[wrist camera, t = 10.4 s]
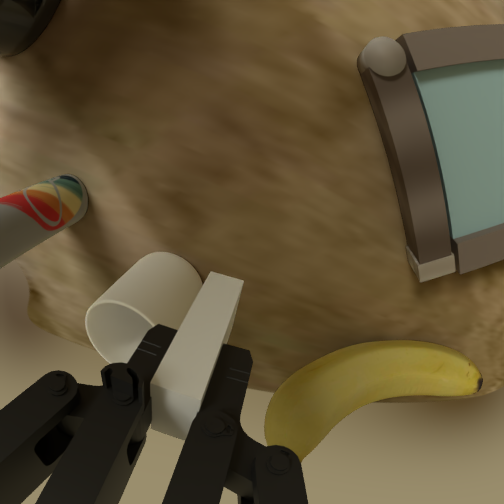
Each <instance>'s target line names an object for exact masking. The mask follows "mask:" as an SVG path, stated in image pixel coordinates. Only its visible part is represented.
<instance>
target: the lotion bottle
mask: <svg viewBox="0 0 504 504" xmlns="http://www.w3.org/2000/svg"><path fill="white" fill-rule="evenodd" d="M87 206H88V197H87V192H86V189H85V187H84V185H83V184H82V182H81V181H80V180H79V179H78V178H77V177H75V176H74V175H70V174H64V175H60V176H57V177H54V178H51V179H48V180H46V181H43V182H40V183H37V184H35V185H32V186H30V187H27V188H24V189H22V190H19V191H17V192H14V193H12V194H10V195H7V196H5V197H2V198H0V269H1V268H2V267H4V266H5V265H7V264H8V263H10V262H11V261H13V260H14V259H16V258H18V257H19V256H21V255H22V254H24V253H25V252H27V251H29V250H30V249H32V248H33V247H35V246H37V245H38V244H40V243H42V242H43V241H45V240H47V239H48V238H50V237H52V236H53V235H55V234H57V233H58V232H60V231H62V230H64V229H65V228H67V227H69V226H71V225H72V224H74V223H76V222H77V221H79V220H80V219H81V218H82V217H83V216H84V215H85V213H86V210H87Z"/></svg>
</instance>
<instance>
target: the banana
mask: <svg viewBox="0 0 504 504" xmlns="http://www.w3.org/2000/svg"><path fill="white" fill-rule="evenodd" d="M482 382H483V378H482V376H481V373H480V372H479V370H478V368H477V367H476V365H475V364H474V363H473V362H472V361H471V360H470V359H469V358H467V357H466V356H465V355H463V354H462V353H460V352H458V351H456V350H454V349H451V348H449V347H446V346H442V345H439V344H434V343H430V342H423V341H414V340H386V341H373V342H365V343H360V344H356V345H352V346H348V347H345V348H342V349H339V350H337V351H334V352H332V353H329V354H327V355H325V356H323V357H321V358H319V359H317V360H315V361H313V362H311V363H309V364H308V365H306V366H304V367H303V368H301V369H299V370H298V371H296V372H295V373H294V374H292V375H291V376H290V377H289V378H288V379H287V380H286V381H285V382H284V383H283V384H282V385H281V386H280V387H279V388H278V389H277V391H276V392H275V393H274V395H273V397H272V398H271V401H270V403H269V406H268V409H267V412H266V416H265V425H264V431H265V439H266V441H267V445H268V446H272V445H280V446H285V447H287V448H289V449H291V450H292V451H293V452H294V453H295V454H296V455H297V456H298V458H299V460H300V462H302V460H303V459H304V458H305V457H306V456H307V455H308V454H309V453H310V452H311V451H312V450H313V449H314V448H315V447H316V446H317V445H318V444H319V443H320V442H321V440H323V439H324V437H325V436H326V435H327V434H328V433H329V432H330V431H331V429H332V428H333V427H334V426H335V425H336V424H337V423H339V422H340V421H341V420H342V419H343V418H345V417H346V416H347V415H349V414H350V413H352V412H353V411H355V410H357V409H358V408H360V407H362V406H364V405H367V404H369V403H372V402H375V401H378V400H382V399H386V398H391V397H398V396H410V395H433V396H462V395H470V394H475V393H476V392H478V391H479V390H480V388H481V386H482Z"/></svg>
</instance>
